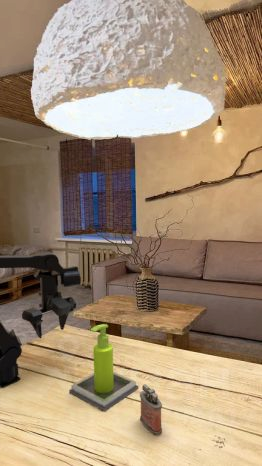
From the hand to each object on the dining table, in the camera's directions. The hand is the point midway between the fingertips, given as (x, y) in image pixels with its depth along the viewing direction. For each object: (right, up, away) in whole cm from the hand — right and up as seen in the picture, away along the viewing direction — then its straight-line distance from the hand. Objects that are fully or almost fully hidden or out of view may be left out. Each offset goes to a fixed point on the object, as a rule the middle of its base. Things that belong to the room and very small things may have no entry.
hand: (51, 333), depth 118 cm
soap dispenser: (+19, -14, -12) cm, 26 cm away
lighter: (+32, -16, -28) cm, 46 cm away
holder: (+19, -14, -12) cm, 26 cm away
